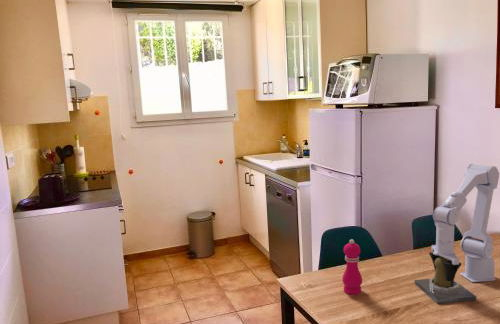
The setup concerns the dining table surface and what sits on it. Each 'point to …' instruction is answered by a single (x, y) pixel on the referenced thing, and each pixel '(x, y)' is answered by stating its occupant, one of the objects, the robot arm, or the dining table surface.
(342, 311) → the dining table surface
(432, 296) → the plate
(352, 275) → the pepper mill
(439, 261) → the cork
